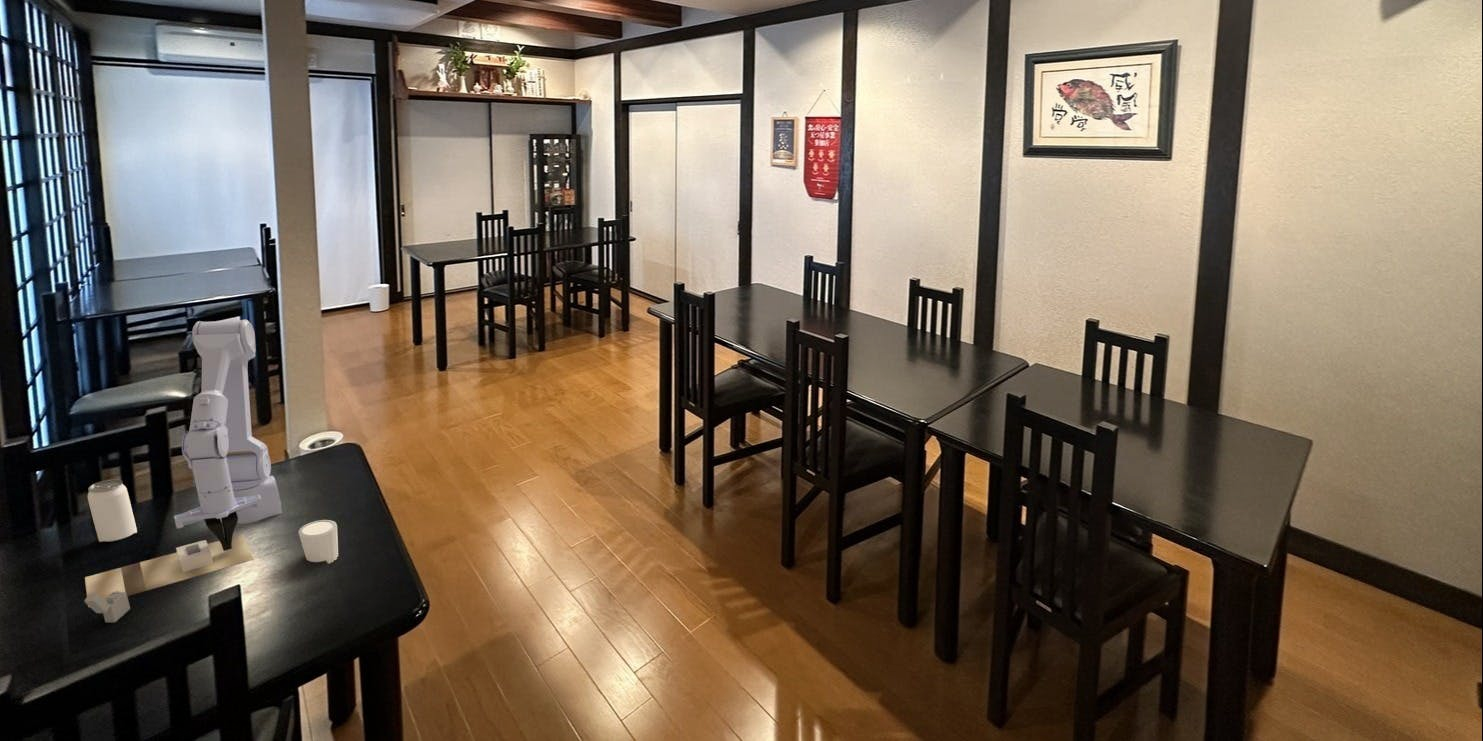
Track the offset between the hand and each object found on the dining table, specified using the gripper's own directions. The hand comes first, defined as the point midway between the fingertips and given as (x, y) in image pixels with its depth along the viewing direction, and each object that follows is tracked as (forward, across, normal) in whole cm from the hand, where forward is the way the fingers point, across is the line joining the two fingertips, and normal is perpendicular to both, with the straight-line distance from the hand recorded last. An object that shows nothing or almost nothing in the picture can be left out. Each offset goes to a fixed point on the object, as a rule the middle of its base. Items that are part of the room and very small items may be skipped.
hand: (227, 547), depth 162 cm
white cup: (+2, +14, -12) cm, 19 cm away
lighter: (+2, -20, -13) cm, 23 cm away
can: (+2, -16, +22) cm, 28 cm away
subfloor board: (+2, -10, 0) cm, 10 cm away
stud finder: (+1, -6, 0) cm, 6 cm away
